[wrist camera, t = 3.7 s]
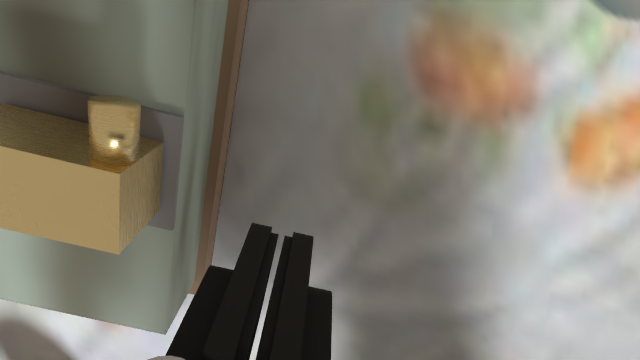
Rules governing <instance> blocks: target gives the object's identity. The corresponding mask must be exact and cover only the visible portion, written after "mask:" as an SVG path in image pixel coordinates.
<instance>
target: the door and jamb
mask: <svg viewBox="0 0 640 360" xmlns="http://www.w3.org/2000/svg"><path fill="white" fill-rule="evenodd" d="M248 2H249V0H0V102H1V103H5V104H9V105H13V106H17V107H21V108H26V109H30V110H34V111H38V112H42V113H46V114H50V115H55V116H59V117H63V118H67V119H71V120H75V121H79V122H84V123H88V99H89V98H90V97H92V96H97V95H116V96H123V97H128V98H131V99H134V100H136V101H138V102H139V103H140V104H141V118H140V136H142V137H146V138H150V139H154V140H158V141H162V142H164V145H163V160H162V176H161V191H160V207H159V211H158V212H157V213H156V214H155V216H154V217H153V218H152V219H151V220H150V221H149V222H148V223H147V224H146V225H145V227H144V228H143V229H142V230H141V231H140V232H139V233H138V234H137V235H136V236H135V237H134V239H133V240H132V241H131V242H130V243H129V244H128V245H127V246H126V247H125V248H124V249H123V251H122V252H121V253H120V254H119V255H118V254H114V253H109V252H105V251H100V250H96V249H91V248H87V247H82V246H78V245H74V244H69V243H65V242H60V241H56V240H51V239H47V238H42V237H38V236H34V235H29V234H25V233H20V232H16V231H11V230H7V229H2V228H0V299H3V300H7V301H12V302H16V303H21V304H26V305H30V306H35V307H40V308H44V309H49V310H54V311H58V312H63V313H67V314H72V315H77V316H81V317H86V318H91V319H95V320H100V321H105V322H109V323H114V324H118V325H123V326H128V327H132V328H137V329H142V330H146V331H151V332H155V333H160V334H165V335H166V333H167V331H168V329H169V327H170V325H171V324H172V322H173V320H174V318H175V316H176V314H177V313H178V311H179V309H180V307H181V305H182V303H183V302H184V300H185V298H186V296H187V294H188V293H189V294H194V295H195V294H196V292H197V289H198V287H199V285H200V283H201V281H202V279H203V277H204V275H205V273H206V271H207V269H208V267H209V266H210V265H211V262H212V255H213V248H214V241H215V234H216V227H217V220H218V213H219V206H220V199H221V192H222V185H223V178H224V171H225V164H226V157H227V150H228V143H229V135H230V128H231V121H232V114H233V107H234V100H235V93H236V86H237V79H238V72H239V65H240V58H241V51H242V44H243V37H244V30H245V23H246V16H247V9H248Z"/></svg>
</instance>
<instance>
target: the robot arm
mask: <svg viewBox="0 0 640 360" xmlns="http://www.w3.org/2000/svg"><path fill="white" fill-rule="evenodd" d="M271 231H272V227H269V226H264V225H260V224H255V223H252V224H251V227H250V229H249V232H248V234H247V237H246V240H245V242H244V245H243V247H242V250H241V253H240V255H239V258H238V260H237V263H236V266H235V268H234V270H230V269H226V268H221V267H216V266H212V265H210V266H209V267H208V269H207V271H206V273H205V275H204V277H203V279H202V281H201V283H200V285H199V287H198V289H197V292H196V294H195V296H194V298H193V300H192V302H191V304H190V306H189V308H188V310H187V312H186V314H185V316H184V318H183V320H182V322H181V325H180V327H179V329H178V331H177V333H176V335H175V337H174V339H173V341H172V343H171V345H170V347H169V349H168V351H167V353H166V356H158V357H154V358H151V359H148V360H249V358H250V354H251V350H252V346H253V342H254V338H255V334H256V330H257V326H258V322H259V318H260V314H261V309H262V305H263V301H264V296H265V292H266V287H267V283H268V279H269V274H270V270H271V265H272V261H273V257H274V252H275V248H276V244H277V239H278V235H279V234H275V233H271ZM312 247H313V236H309V235H304V234H300V233H296V232H294V233H293V237H289V236H285V237H284V242H283V246H282V250H281V254H280V258H279V263H278V267H277V271H276V275H275V279H274V284H273V288H272V292H271V296H270V301H269V305H268V309H267V313H266V318H265V322H264V326H263V331H262V335H261V339H260V344H259V348H258V352H257V357H256V360H331V331H332V292H331V291H328V290H323V289H318V288H314V287H309V286H308V285H309V276H310V266H311V256H312Z"/></svg>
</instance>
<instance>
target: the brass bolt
mask: <svg viewBox="0 0 640 360" xmlns="http://www.w3.org/2000/svg"><path fill="white" fill-rule="evenodd" d="M140 118H141V104H140V103H139V102H138V101H136V100H134V99H131V98H128V97H123V96H116V95H97V96H92V97H90V98H89V99H88V123H84V122H79V121H75V120H71V119H67V118H63V117H59V116H55V115H50V114H46V113H42V112H38V111H34V110H30V109H26V108H21V107H17V106H13V105H9V104H5V103H1V102H0V228H2V229H7V230H11V231H16V232H20V233H25V234H29V235H34V236H38V237H42V238H47V239H51V240H56V241H60V242H65V243H69V244H74V245H78V246H82V247H87V248H91V249H96V250H100V251H105V252H109V253H114V254H118V255H119V254H120V253H121V252H122V251H123V249H124V248H125V247H126V246H127V245H128V244H129V243H130V242H131V241H132V240H133V239H134V237H135V236H136V235H137V234H138V233H139V232H140V231H141V230H142V229H143V228H144V227H145V225H146V224H147V223H148V222H149V221H150V220H151V219H152V218H153V217H154V216H155V214H156V213H157V212H158V211H159V207H160V191H161V176H162V160H163V145H164V142H162V141H158V140H154V139H150V138H146V137H142V136H140Z"/></svg>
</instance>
